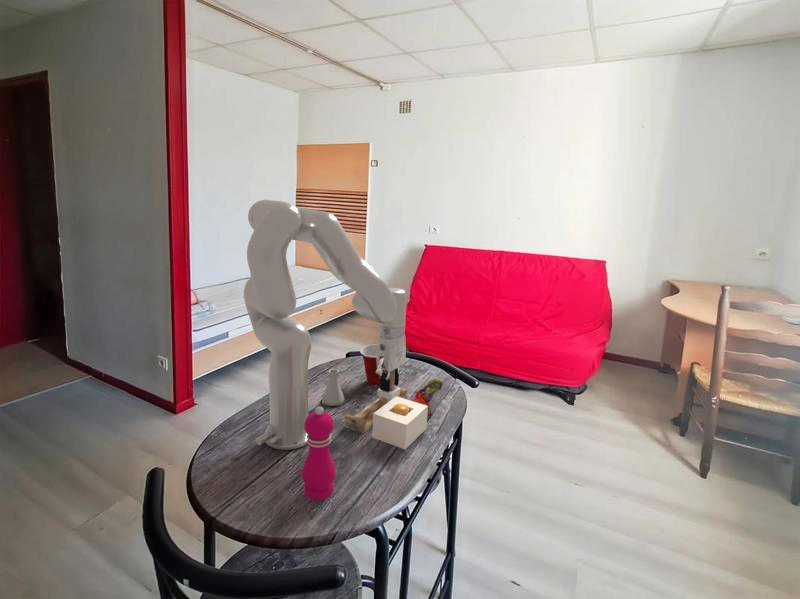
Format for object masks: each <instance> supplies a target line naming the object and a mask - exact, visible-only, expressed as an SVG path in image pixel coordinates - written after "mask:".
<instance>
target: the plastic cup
mask: <svg viewBox="0 0 800 599" xmlns="http://www.w3.org/2000/svg"><path fill="white" fill-rule="evenodd" d="M377 348H378V343H377V344H376V343H374V344H368V345H365V346H363V347H362V348H360V350H359V352H360V354H361V356H362V359H363V366H364V370H365V374H366V376H365V377H366V381H367V384H369V385H371V386H380V378H379V375H378V374H376V370H377V363H376V361H377ZM384 368H385V366H384ZM384 373H385V371H384Z"/></svg>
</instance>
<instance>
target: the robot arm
mask: <svg viewBox="0 0 800 599" xmlns="http://www.w3.org/2000/svg"><path fill="white" fill-rule="evenodd" d="M247 218H248V223H249V225H250V227H251V228H252V229H253V233H252V235H251V236H250V238H249V241H248V244H247V249H246V260H247V264H248V265H247V266H248V269H249V273H250V277H249V279H248V280H247V281H246V283H245V285H244V288H243V299H244V304H245V307H246V310H247V313H248V316H249V321H250V323H251V326H252V330H253V332H254V335H255V337H256V339H257V340H258V341H259V342H260V344H262V345H263V346H264V347H265V348H266V349H267V350H268V351H270V352H271V359H270V363H269V368H268V386H269V388H268V389H269V391H268V392H269V394H268V396H269V424H268V425H266V426H267V427H266V430H265V431H264V433H263V434H262V435H259V436H258V437H256V438H255V443H256V444H257V445H258V446H261V445H263V444H266V445H267V446H269V447H271V448H273V449H277V450H285V451H286V450H289V451H290V450H295V449H299V448H302V447H304V446H306V445H307V444H308V443H307V435H308V434H307V433H306V431H305V427H304V426H305V421H306V419H307V417H308V416H309V404H308V403H309V394H308V393H309V360H310V354H311V349H312V338H311V335H310V332H309V331H308V329H307V328H306V327H305V326H304V325H303V324H302V323H300V322H299V321H297V320H295V319H294V318H292V317H290V316H292V314H294V312H295V309H296V307H297V298H296V297H297V296H296V292H295V289H294V285H293V281H292V278H291V275H290V270H289V265H288V261H287V252H288V248H289V245H290V243H291V242H292V241H297V242H298V241H299V242H302V243H303V242H304V243H308V244H311V245H312V246H313V247H314V249H315V251H316V252H317V253H318V255H319V256H320V257H321V259H322V260H323V262H324V263H325V265H326V266H327V268H328V270H329V271H330V273H331V274H332V275H333V276H334V277H335V278H336V279H337V280H338V281H339V282H341V284H344V285H345V286H347V287H348V288H350V289H351V290H352V291H354V292H355V294H354V295H353V297H352V299H351V304H352V305H351V306H352V308H353V309H354V311H355V312H357V313H358V314H359V315H362V316H364V317H366V318H368V319H371V320H373V321H375V322H378V324H379V325H378V326H379V328H378V336H379V337H378V342H377V344H378V348H377V361H376V363H377V370H376V374H378V375H379V378H380V385H379V389H380V390H383V391H386V392H389V391H390V379H389V376H390V372H391V371H393V370H395V380H394V386H397V387H399V381H400V379H399V377H400V372H401V366H402V365H404V364H405V363H406V360H407V359H406V358H407V356H406V355H407V354H406V352H407V346H406V344H407V343H406V342H407V341H406V334H405V332H406V331H405V330H406V315H407V296H408V294H407V292H406V290H404V289H402V288H399V287H389V286H388V284H386V282H385V281H384V280H383V279H382V278H381V276H380V275H379V274H378V273H377V272H376V271H375V270H374V269H373V268H372V267H371V266H370V265H369V264H368V263H367V262H366V260H364V259H363V258H362V256H361V255H360V254H359V252H358V250H357V249H356V247H355V245H354V244H353V242H352V241H351V239H350V237H348V235H347V233H346V231H345V229H344V228H343V226H342V225H341V223H340V221H339V220H338V218H337V217H336V216H335V215H334V214H333V213H330V212H328V211H322V210H318V209H317V210H316V209H310V208H303V207H297V206H295V205H293V204H292V203H289V202H286V201H281V200H270V199H261V200H258V201H256V202H255V203H253V204H252V205H251V207H250V208H249V210H248V213H247ZM384 366H385V368H384ZM384 371H387V373H386V374H385V373H384ZM308 445H309V444H308Z"/></svg>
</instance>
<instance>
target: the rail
mask: <svg viewBox="0 0 800 599" xmlns="http://www.w3.org/2000/svg"><path fill="white" fill-rule="evenodd" d="M394 386H395V385H394ZM395 387H398V388H400V394H399V395H398V397H401V398H404V399H407V398H408V396H407V395H408V394H407V393H408V389H407V388H404V387H400V386H395ZM387 401H388V399H386V398H381V399H380V400H379V398H377V399H376V400H374V401H373V402H371V403H370V404H369V405H367V406H366V407H364V408H363V409H361V410H360V411H358V412H357V413H356V414H354V415H353V414H350V413H346V414H345V415H344V428H347V429H349V430H352V431H354V432H357V433H360V434H362V435H364V434H365V433H366V432H367V431H369V430H370V429H371V428H373V413H375V412H376V411H377V410H379V409H380V408H381V407H383V406H384V405H385V404H387Z"/></svg>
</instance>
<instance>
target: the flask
mask: <svg viewBox="0 0 800 599" xmlns="http://www.w3.org/2000/svg"><path fill="white" fill-rule="evenodd" d="M327 373H328V375H329V376H328V382H327V383H326V387H325V389H324V393H323V395H322V398H321V404H322V405H324V406H329V407H335V406H337V407H338V406H341V405H342V404H344V403H345V401H346V400H345V396H344V394H343V391H342V389H341V386H340V383H339V373H340V371H339V369H335V368H331V369H329V370H328V372H327Z"/></svg>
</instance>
